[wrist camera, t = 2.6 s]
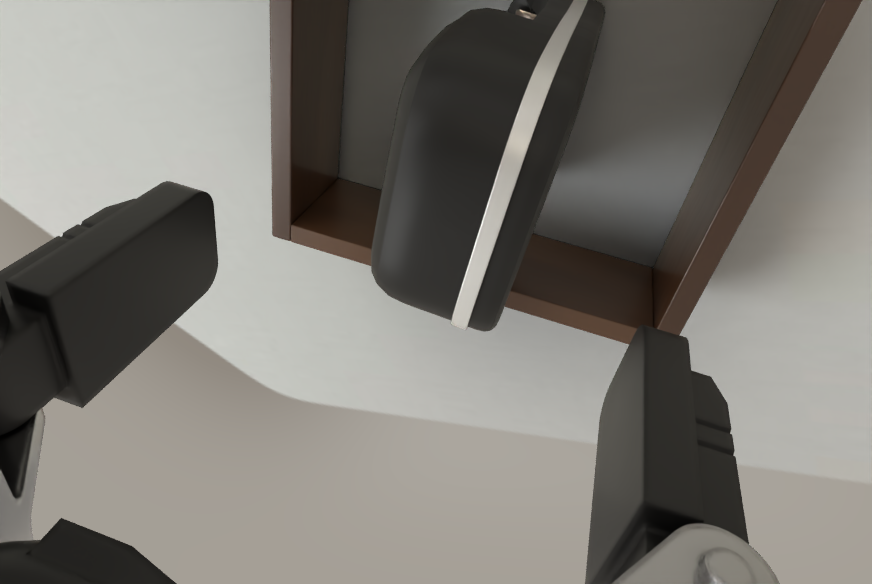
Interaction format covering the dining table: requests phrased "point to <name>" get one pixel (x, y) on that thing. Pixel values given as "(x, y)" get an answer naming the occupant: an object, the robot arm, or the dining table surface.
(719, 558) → the robot arm
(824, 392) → the dining table surface
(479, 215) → the battery charger
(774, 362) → the dining table surface
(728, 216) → the walnut box
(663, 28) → the dining table surface
